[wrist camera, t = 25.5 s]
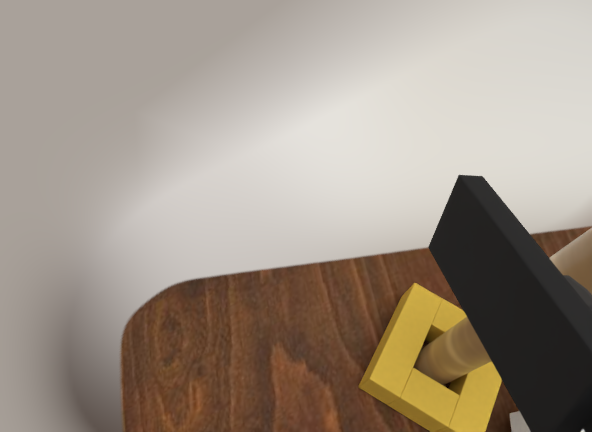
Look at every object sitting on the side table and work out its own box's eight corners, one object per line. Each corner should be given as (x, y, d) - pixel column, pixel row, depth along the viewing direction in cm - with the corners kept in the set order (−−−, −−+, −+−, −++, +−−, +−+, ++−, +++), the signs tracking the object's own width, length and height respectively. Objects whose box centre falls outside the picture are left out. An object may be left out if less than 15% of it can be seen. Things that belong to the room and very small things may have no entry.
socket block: (357, 387, 45) (369, 378, 42) (402, 295, 50) (414, 282, 47) (461, 451, 44) (480, 447, 41) (496, 350, 49) (515, 340, 46)
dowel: (405, 374, 46) (626, 233, 22) (419, 341, 48) (638, 177, 24) (441, 396, 46) (704, 275, 22) (454, 361, 48) (711, 215, 24)
